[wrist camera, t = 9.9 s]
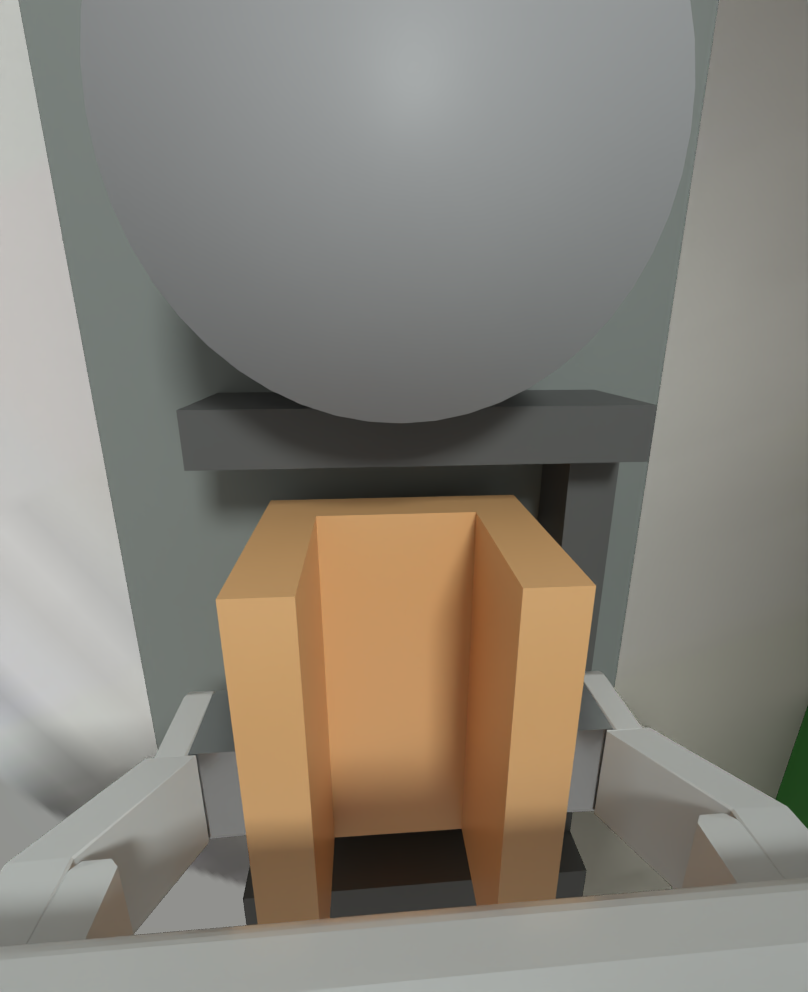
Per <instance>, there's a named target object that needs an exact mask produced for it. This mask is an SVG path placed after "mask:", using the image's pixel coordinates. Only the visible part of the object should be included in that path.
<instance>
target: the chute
mask: <svg viewBox="0 0 808 992" xmlns="http://www.w3.org/2000/svg"><path fill="white" fill-rule="evenodd" d="M595 591H596V585H595V584H594V583H593V582H592V581H591V579H590V578H589V577H588V576H587V575H586V574H585V573H584V572H583V571H582V570H581V568H580V567H579V566H578V565H577V564H576V563H575V562H574V561H573V560H572V559H571V557H570V556H569V555H568V554H567V553H566V552H565V551H564V550H563V549H562V548H561V546H560V545H559V544H558V543H557V542H556V541H555V540H554V539H553V538H552V537H551V535H550V534H549V533H548V532H547V531H546V530H545V529H544V528H543V527H542V526H541V524H540V523H539V522H538V521H537V520H536V519H535V518H534V517H533V516H532V515H531V513H530V512H529V511H528V510H527V509H526V508H525V507H524V506H523V505H522V504H521V502H520V501H519V500H518V499H517V498H516V497H515V496H514V495H480V496H437V497H394V498H352V499H309V500H271V501H270V503H269V504H268V506H267V508H266V510H265V512H264V513H263V515H262V517H261V519H260V521H259V522H258V524H257V526H256V528H255V530H254V531H253V533H252V535H251V537H250V539H249V540H248V542H247V544H246V546H245V548H244V549H243V551H242V553H241V555H240V557H239V558H238V560H237V562H236V564H235V566H234V567H233V569H232V571H231V573H230V575H229V576H228V578H227V580H226V582H225V584H224V585H223V587H222V589H221V591H220V593H219V594H218V596H217V598H216V607H217V614H218V622H219V630H220V637H221V645H222V653H223V660H224V668H225V676H226V684H227V691H228V699H229V707H230V714H231V722H232V730H233V737H234V745H235V753H236V761H237V768H238V776H239V784H240V791H241V799H242V807H243V814H244V822H245V830H246V838H247V845H248V853H249V861H250V868H251V876H252V884H253V891H254V899H255V907H256V915H257V922H258V924H268V923H280V922H291V921H303V920H315V919H326V918H330V907H331V890H332V874H333V857H334V840H335V837H350V836H364V835H378V834H393V833H407V832H422V831H436V830H450V829H462V833H463V838H464V843H465V848H466V854H467V859H468V864H469V869H470V874H471V879H472V884H473V890H474V895H475V900H476V905H477V906H478V905H490V904H501V903H513V902H525V901H537V900H548V899H556V891H557V884H558V876H559V868H560V860H561V853H562V845H563V837H564V830H565V822H566V814H567V806H568V799H569V791H570V783H571V776H572V768H573V760H574V753H575V745H576V737H577V729H578V722H579V714H580V706H581V699H582V691H583V683H584V675H585V668H586V660H587V652H588V645H589V637H590V629H591V622H592V614H593V606H594V598H595Z"/></svg>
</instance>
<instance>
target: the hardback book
mask: <svg viewBox="0 0 808 992" xmlns="http://www.w3.org/2000/svg"><path fill="white" fill-rule="evenodd" d="M776 800H777V801H779V802H780V803H782V804H784V805H786V806H787V807H788V808H789V809H790V810H791V811H792V812H793V813H794V814H795V815H796V817H797V818H798V819H799V820H800V821H801V822H802V823H803V824H804V826H805V827H806V828H807V829H808V707H807V709H806V712H805V715H804V718H803V721H802V724H801V727H800V730H799V733H798V736H797V739H796V742H795V744H794V747H793V750H792V753H791V756H790V759H789V762H788V765H787V768H786V771H785V774H784V777H783V780H782V782H781V785H780V788H779V791H778V794H777V797H776Z"/></svg>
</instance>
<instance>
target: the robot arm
mask: <svg viewBox="0 0 808 992" xmlns="http://www.w3.org/2000/svg"><path fill="white" fill-rule="evenodd" d="M581 811H594V814H595V815H596V816H597V817H598V818H600V819H601V820H602V821H603V822H604V823H605V824H606V825H607V826H608V827H609V828H610V829H611V830H612V831H613V832H614V833H616V834H617V835H618V836H619V837H620V838H621V839H622V840H623V841H624V842H625V843H626V844H627V845H628V846H629V847H630V848H632V849H633V850H634V851H635V852H636V853H637V854H638V855H639V856H640V857H641V858H642V859H643V860H644V861H645V862H646V863H648V864H649V865H650V866H651V867H652V868H653V869H654V870H655V871H656V872H657V873H658V874H659V875H660V876H661V877H662V878H664V879H665V880H666V881H667V882H668V883H669V884H670V885H671V886H672V887H673V888H674V889H666V890H654V891H643V892H631V893H619V894H607V895H595V896H584V897H572V898H560V899H548V900H537V901H525V902H513V903H501V904H490V905H478V906H466V907H455V908H443V909H431V910H420V911H408V912H396V913H385V914H373V915H361V916H350V917H338V918H326V919H315V920H303V921H291V922H280V923H268V924H256V925H245V926H234V927H222V928H210V929H198V930H188V931H176V932H163V933H152V934H140V935H134V933H135V932H136V931H137V930H138V928H139V927H140V926H141V925H142V923H143V922H144V921H145V920H146V919H147V917H148V916H149V915H150V914H151V913H152V911H153V910H154V909H155V908H156V906H157V905H158V904H159V903H160V902H161V900H162V899H163V898H164V897H165V895H166V894H167V893H168V892H169V891H170V889H171V888H172V887H173V886H174V884H175V883H176V882H177V881H178V880H179V878H180V877H181V876H182V875H183V874H184V872H185V871H186V870H187V869H188V867H189V866H190V865H191V864H192V863H193V861H194V860H195V859H196V858H197V857H198V855H199V854H200V853H201V852H202V850H203V849H204V848H205V847H206V846H207V844H208V843H209V839H213V838H223V837H233V836H243V835H246V830H245V822H244V814H243V807H242V799H241V791H240V784H239V776H238V768H237V761H236V753H235V745H234V737H233V730H232V722H231V714H230V707H229V699H228V691H227V690H220V691H200V692H189V693H188V694H187V695H186V696H185V697H184V698H183V700H182V702H181V704H180V706H179V708H178V710H177V712H176V714H175V716H174V719H173V721H172V723H171V725H170V727H169V729H168V731H167V733H166V735H165V737H164V739H163V741H162V743H161V745H160V747H159V749H158V751H157V753H156V755H155V757H154V758H146V759H144V760H143V761H142V762H140V763H139V764H138V765H136V766H135V767H134V768H132V769H131V770H130V771H128V772H127V773H126V774H124V775H123V776H122V777H120V778H119V779H118V780H116V781H115V782H114V783H112V784H111V785H110V786H108V787H107V788H106V789H104V790H103V791H102V792H100V793H99V794H98V795H96V796H95V797H94V798H92V799H91V800H90V801H88V802H87V803H86V804H84V805H83V806H82V807H80V808H79V809H78V810H76V811H75V812H74V813H72V814H71V815H70V816H68V817H67V818H66V819H64V820H63V821H62V822H60V823H59V824H58V825H56V826H55V827H54V828H52V829H51V830H50V831H48V832H47V833H46V834H44V835H43V836H42V837H40V838H39V839H38V840H37V841H35V842H34V843H32V844H31V845H30V846H28V847H27V848H26V849H24V850H23V851H22V852H21V853H19V854H18V855H16V856H15V857H14V858H13V859H11V860H10V861H8V862H7V863H6V864H5V865H4V867H3V868H2V870H1V871H0V992H808V829H807V828H806V827H805V826H804V824H803V823H802V822H801V821H800V820H799V819H798V818H797V817H796V815H795V814H794V813H793V812H792V811H791V810H790V809H789V808H788V807H787V806H786V805H784V804H782V803H780V802H779V801H777V800H775V799H773V798H772V797H770V796H768V795H766V794H765V793H763V792H761V791H759V790H758V789H756V788H754V787H752V786H751V785H749V784H747V783H746V782H744V781H742V780H740V779H739V778H737V777H735V776H733V775H732V774H730V773H728V772H726V771H725V770H723V769H721V768H719V767H718V766H716V765H714V764H713V763H711V762H709V761H707V760H706V759H704V758H702V757H700V756H699V755H697V754H695V753H693V752H692V751H690V750H688V749H686V748H685V747H683V746H681V745H679V744H678V743H676V742H674V741H673V740H671V739H669V738H667V737H666V736H664V735H662V734H660V733H659V732H657V731H655V730H653V729H652V728H642V726H641V725H640V724H639V722H638V721H637V719H636V718H635V717H634V715H633V714H632V712H631V711H630V710H629V708H628V707H627V706H626V704H625V703H624V701H623V700H622V699H621V697H620V696H619V694H618V693H617V692H616V690H615V689H614V688H613V686H612V685H611V683H610V682H609V681H608V679H607V678H606V676H605V675H604V674H603V673H602V672H600V671H588V672H585V675H584V683H583V691H582V699H581V706H580V714H579V722H578V729H577V737H576V745H575V753H574V760H573V768H572V776H571V783H570V791H569V799H568V806H567V812H581Z"/></svg>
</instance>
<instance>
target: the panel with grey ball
mask: <svg viewBox="0 0 808 992" xmlns="http://www.w3.org/2000/svg"><path fill="white" fill-rule="evenodd" d="M18 1H19V6H20V12H21V17H22V22H23V28H24V33H25V38H26V44H27V49H28V55H29V60H30V65H31V71H32V76H33V81H34V87H35V92H36V98H37V103H38V108H39V114H40V119H41V124H42V130H43V135H44V141H45V146H46V151H47V157H48V162H49V167H50V173H51V178H52V184H53V189H54V194H55V200H56V205H57V211H58V216H59V221H60V227H61V232H62V237H63V243H64V248H65V254H66V259H67V264H68V270H69V275H70V280H71V286H72V291H73V297H74V302H75V307H76V313H77V318H78V323H79V329H80V334H81V340H82V345H83V350H84V356H85V361H86V366H87V372H88V377H89V383H90V388H91V393H92V399H93V404H94V410H95V415H96V420H97V426H98V431H99V436H100V442H101V447H102V453H103V458H104V463H105V469H106V474H107V479H108V485H109V490H110V496H111V501H112V506H113V512H114V517H115V522H116V528H117V533H118V539H119V544H120V549H121V555H122V560H123V565H124V571H125V576H126V582H127V587H128V592H129V598H130V603H131V609H132V614H133V619H134V625H135V630H136V635H137V641H138V646H139V652H140V657H141V662H142V668H143V673H144V678H145V684H146V689H147V695H148V700H149V705H150V711H151V716H152V721H153V727H154V732H155V738H156V743H157V748H158V749H159V747H160V745H161V743H162V741H163V739H164V737H165V735H166V733H167V731H168V729H169V727H170V725H171V723H172V721H173V719H174V716H175V714H176V712H177V710H178V708H179V706H180V704H181V702H182V700H183V698H184V697H185V696H186V695H187V694H188V693H189V692H200V691H220V690H227V684H226V676H225V668H224V660H223V653H222V645H221V637H220V630H219V622H218V614H217V607H216V598H217V596H218V594H219V593H220V591H221V589H222V587H223V585H224V584H225V582H226V580H227V578H228V576H229V575H230V573H231V571H232V569H233V567H234V566H235V564H236V562H237V560H238V558H239V557H240V555H241V553H242V551H243V549H244V548H245V546H246V544H247V542H248V540H249V539H250V537H251V535H252V533H253V531H254V530H255V528H256V526H257V524H258V522H259V521H260V519H261V517H262V515H263V513H264V512H265V510H266V508H267V506H268V504H269V503H270V501H271V500H309V499H352V498H394V497H437V496H480V495H514V496H515V497H516V498H517V499H518V500H519V501H520V502H521V504H522V505H523V506H524V507H525V508H526V509H527V510H528V511H529V512H530V513H531V515H532V516H533V517H534V518H535V519H536V520H537V521H538V522H539V523H540V524H541V526H542V527H543V528H544V529H545V530H546V531H547V532H548V533H549V534H550V535H551V537H552V538H553V539H554V540H555V541H556V542H557V543H558V544H559V545H560V546H561V548H562V549H563V550H564V551H565V552H566V553H567V554H568V555H569V556H570V557H571V559H572V560H573V561H574V562H575V563H576V564H577V565H578V566H579V567H580V568H581V570H582V571H583V572H584V573H585V574H586V575H587V576H588V577H589V578H590V579H591V581H592V582H593V583H594V584H595V585H596V591H595V598H594V606H593V614H592V622H591V629H590V637H589V645H588V652H587V660H586V668H585V672H588V671H600V672H602V673H603V674H604V675H605V676H606V678H607V679H608V681H609V682H610V683H611V685H612V686H613V688H614V686H615V679H616V673H617V666H618V659H619V653H620V646H621V640H622V633H623V627H624V620H625V613H626V607H627V600H628V594H629V587H630V581H631V574H632V568H633V561H634V554H635V548H636V541H637V535H638V528H639V522H640V515H641V509H642V502H643V495H644V489H645V482H646V476H647V469H648V463H649V456H650V449H651V443H652V436H653V430H654V423H655V417H656V410H657V404H658V397H659V390H660V384H661V377H662V371H663V364H664V358H665V351H666V344H667V338H668V331H669V325H670V318H671V312H672V305H673V299H674V292H675V285H676V279H677V272H678V266H679V259H680V253H681V246H682V239H683V233H684V226H685V220H686V213H687V207H688V200H689V194H690V187H691V180H692V174H693V167H694V161H695V154H696V148H697V141H698V134H699V128H700V121H701V115H702V108H703V102H704V95H705V89H706V82H707V75H708V69H709V62H710V56H711V49H712V43H713V36H714V29H715V23H716V16H717V10H718V3H719V0H18ZM571 819H572V812H567V814H566V822H565V830H564V837H563V845H562V853H561V860H560V868H559V876H558V884H557V891H556V899H560V898H572V897H582V895H583V889H584V882H585V876H586V869H585V866H584V864H583V861H582V859H581V857H580V854H579V852H578V849H577V847H576V845H575V842H574V840H573V838H572V835H571V833H570V827H571ZM243 902H244V910H245V916H246V924H247V925H256V924H258V922H257V915H256V907H255V899H254V891H253V884H252V876H251V868H249V873H248V877H247V882H246V887H245V892H244V897H243ZM466 906H477V905H476V900H475V895H474V890H473V884H472V879H471V874H470V869H469V864H468V859H467V854H466V848H465V843H464V838H463V833H462V829H450V830H436V831H422V832H407V833H393V834H378V835H364V836H350V837H335V840H334V857H333V874H332V890H331V907H330V918H338V917H350V916H361V915H373V914H385V913H396V912H408V911H420V910H431V909H443V908H455V907H466Z"/></svg>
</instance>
